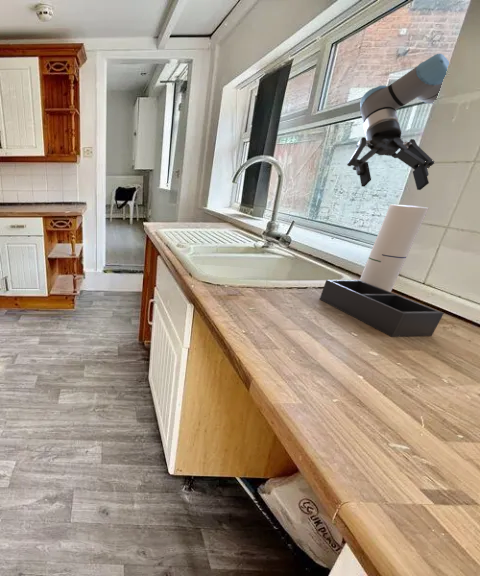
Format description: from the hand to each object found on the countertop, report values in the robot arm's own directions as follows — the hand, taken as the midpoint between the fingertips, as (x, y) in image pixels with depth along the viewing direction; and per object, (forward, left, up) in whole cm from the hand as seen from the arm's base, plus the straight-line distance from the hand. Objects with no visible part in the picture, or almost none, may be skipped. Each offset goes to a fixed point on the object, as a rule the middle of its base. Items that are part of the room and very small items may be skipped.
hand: (394, 184), depth 84 cm
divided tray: (+17, +21, -30) cm, 40 cm away
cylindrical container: (+5, +10, -30) cm, 32 cm away
